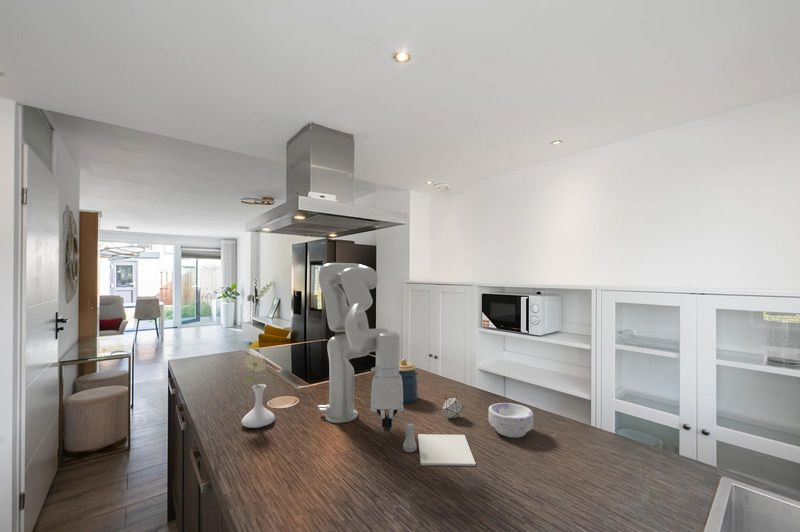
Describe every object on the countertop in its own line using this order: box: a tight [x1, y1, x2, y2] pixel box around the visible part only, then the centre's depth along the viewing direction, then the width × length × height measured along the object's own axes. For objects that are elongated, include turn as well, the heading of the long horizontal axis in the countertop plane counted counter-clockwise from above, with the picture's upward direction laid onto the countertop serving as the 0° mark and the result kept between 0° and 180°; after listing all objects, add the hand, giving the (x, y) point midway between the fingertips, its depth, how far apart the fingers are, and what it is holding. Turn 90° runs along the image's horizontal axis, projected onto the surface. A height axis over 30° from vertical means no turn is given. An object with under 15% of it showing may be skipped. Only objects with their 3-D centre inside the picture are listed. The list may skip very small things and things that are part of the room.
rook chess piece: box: [402, 422, 418, 453], centre depth 110 cm, size 4×4×8 cm
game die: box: [439, 395, 466, 421], centre depth 134 cm, size 9×8×10 cm
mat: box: [417, 433, 477, 467], centre depth 110 cm, size 16×18×1 cm
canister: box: [399, 358, 419, 405], centre depth 154 cm, size 13×13×18 cm
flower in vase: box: [241, 354, 276, 429], centre depth 127 cm, size 13×11×25 cm
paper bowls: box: [488, 402, 534, 439], centre depth 122 cm, size 15×15×8 cm
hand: (387, 429), depth 110 cm, fingers closed
